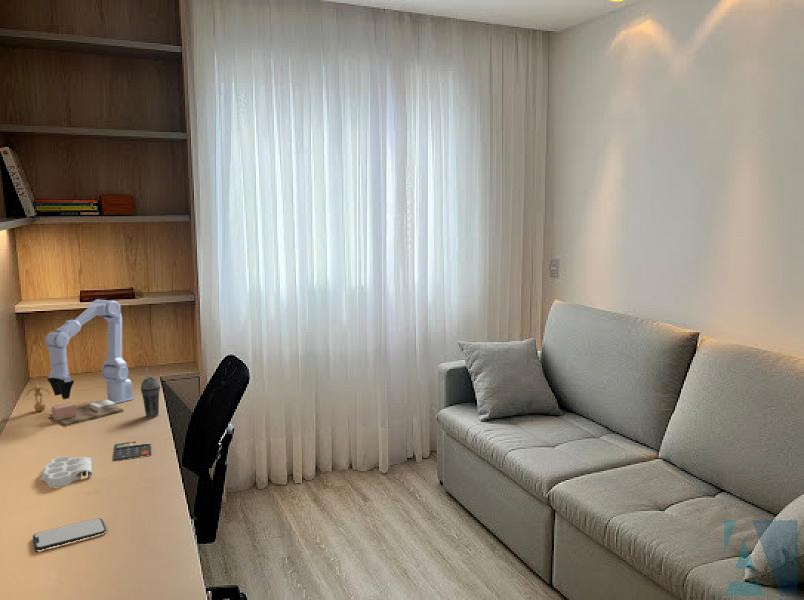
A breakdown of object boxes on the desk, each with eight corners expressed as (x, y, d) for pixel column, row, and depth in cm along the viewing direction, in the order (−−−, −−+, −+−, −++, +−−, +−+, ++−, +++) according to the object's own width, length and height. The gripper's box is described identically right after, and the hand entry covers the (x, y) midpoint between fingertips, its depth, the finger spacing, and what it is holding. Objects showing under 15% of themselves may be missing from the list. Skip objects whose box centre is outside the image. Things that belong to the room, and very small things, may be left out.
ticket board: (105, 403, 267) (104, 396, 266) (123, 411, 257) (122, 404, 256) (49, 417, 250) (49, 409, 250) (66, 426, 240) (65, 418, 240)
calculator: (112, 459, 207) (114, 443, 221) (113, 462, 207) (115, 446, 221) (151, 454, 211) (150, 438, 225) (151, 456, 212) (150, 441, 225)
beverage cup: (166, 414, 253) (162, 365, 250) (152, 419, 246) (148, 370, 243) (152, 411, 256) (149, 363, 253) (138, 417, 250) (134, 368, 246)
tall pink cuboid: (71, 413, 251) (70, 402, 251) (76, 415, 248) (75, 404, 247) (52, 417, 246) (51, 406, 245) (57, 420, 243) (56, 409, 242)
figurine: (52, 408, 261) (49, 380, 259) (50, 412, 256) (48, 384, 254) (29, 410, 258) (26, 382, 256) (27, 415, 253) (24, 386, 251)
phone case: (101, 522, 169) (32, 539, 160) (101, 516, 169) (32, 533, 160) (107, 536, 162) (35, 555, 153) (107, 530, 161) (35, 548, 153)
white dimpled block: (92, 482, 192) (37, 492, 186) (91, 461, 208) (41, 470, 202) (91, 472, 192) (36, 482, 185) (91, 451, 208) (40, 460, 201)
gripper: (40, 361, 245) (43, 395, 247) (55, 368, 236) (58, 403, 238) (59, 358, 251) (62, 391, 253) (75, 364, 241) (78, 398, 243)
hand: (62, 396), depth 246 cm, fingers open, 7 cm apart
